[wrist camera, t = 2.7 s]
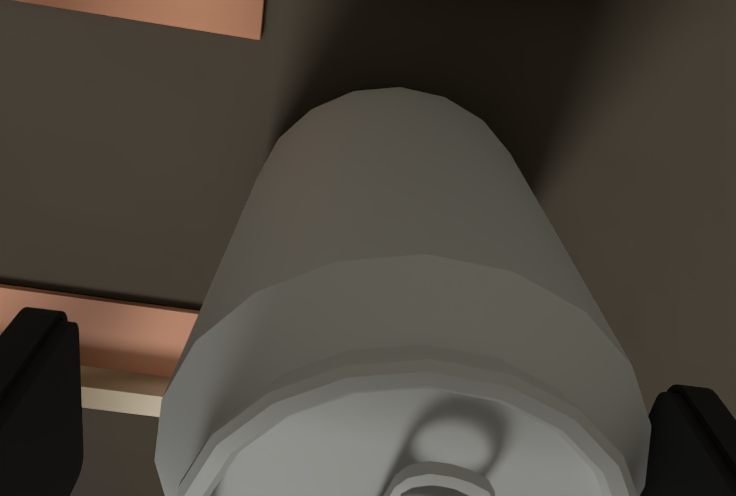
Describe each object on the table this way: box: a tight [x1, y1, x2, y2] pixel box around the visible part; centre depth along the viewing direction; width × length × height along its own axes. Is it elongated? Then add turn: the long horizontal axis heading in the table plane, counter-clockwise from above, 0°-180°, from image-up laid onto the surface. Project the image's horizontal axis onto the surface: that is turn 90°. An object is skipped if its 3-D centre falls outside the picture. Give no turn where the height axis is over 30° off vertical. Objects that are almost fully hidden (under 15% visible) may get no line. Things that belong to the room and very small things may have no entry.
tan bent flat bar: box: [0, 0, 264, 417], centre depth 18 cm, size 25×15×4 cm, turn 81°
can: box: [155, 87, 651, 496], centre depth 14 cm, size 8×8×12 cm
